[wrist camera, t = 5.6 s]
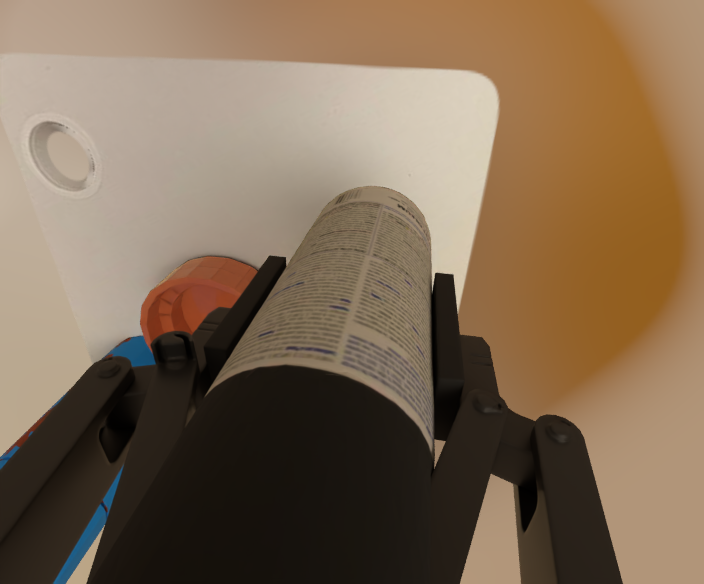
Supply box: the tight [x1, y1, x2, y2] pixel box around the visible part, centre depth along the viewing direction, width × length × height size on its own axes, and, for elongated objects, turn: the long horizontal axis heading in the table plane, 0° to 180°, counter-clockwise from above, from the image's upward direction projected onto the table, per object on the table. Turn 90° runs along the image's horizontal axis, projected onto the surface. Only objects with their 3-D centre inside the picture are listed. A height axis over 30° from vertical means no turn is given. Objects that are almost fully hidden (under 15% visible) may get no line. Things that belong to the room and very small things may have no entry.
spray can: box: [90, 186, 435, 584], centre depth 15 cm, size 7×7×20 cm
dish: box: [140, 256, 258, 352], centre depth 43 cm, size 14×14×5 cm
